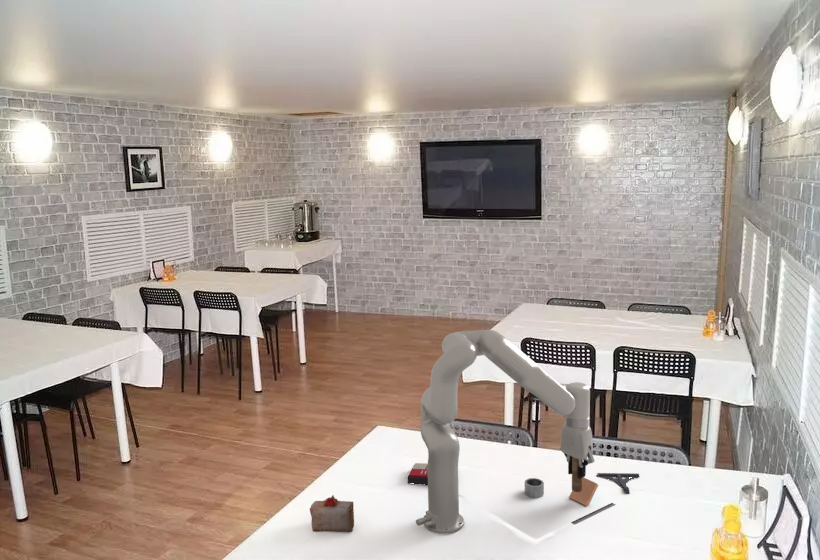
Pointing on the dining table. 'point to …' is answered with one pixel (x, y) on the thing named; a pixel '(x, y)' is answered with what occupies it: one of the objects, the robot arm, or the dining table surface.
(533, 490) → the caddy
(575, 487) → the rod
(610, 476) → the bracket
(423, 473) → the calculator
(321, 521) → the food item
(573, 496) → the tile
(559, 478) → the dining table surface
